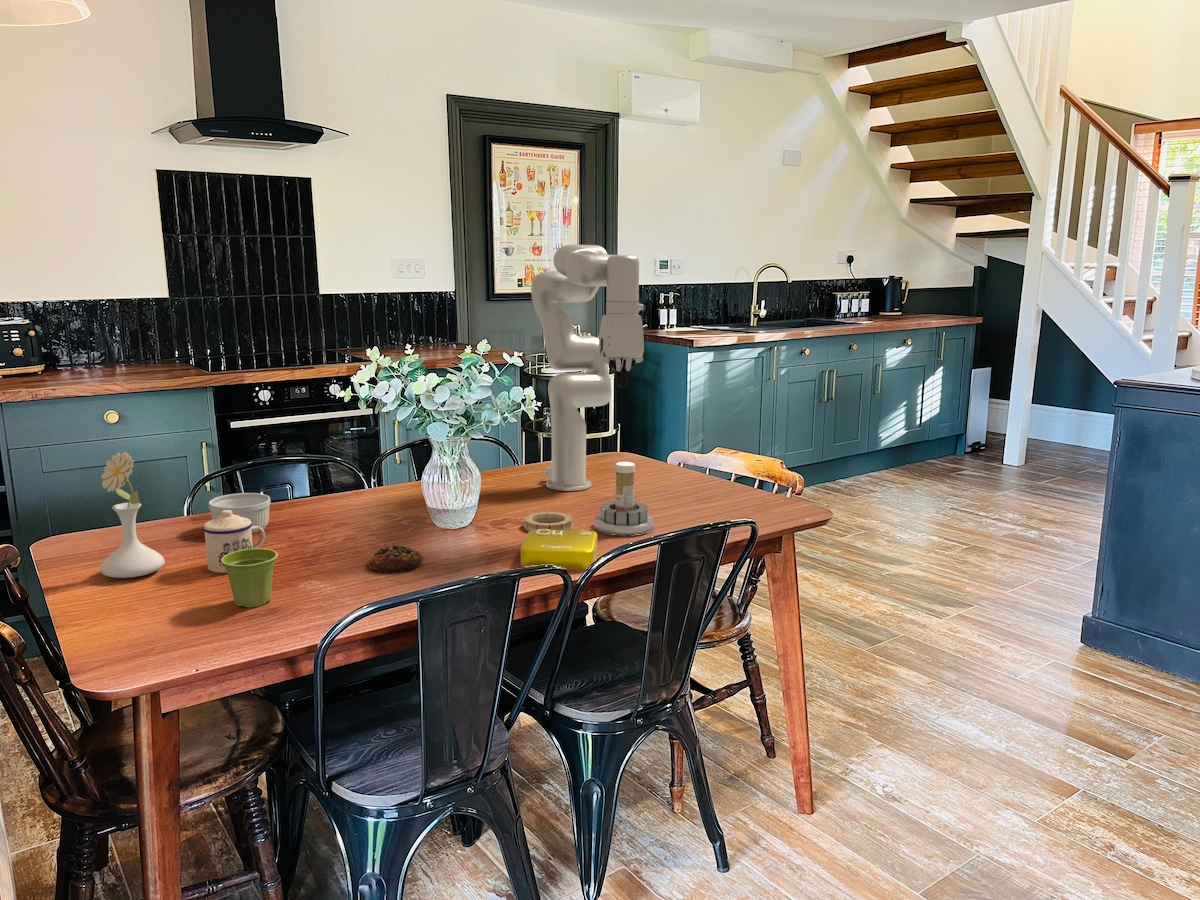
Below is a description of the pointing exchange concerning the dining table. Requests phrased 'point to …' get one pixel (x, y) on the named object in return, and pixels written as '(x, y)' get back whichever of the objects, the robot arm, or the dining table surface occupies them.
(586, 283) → the robot arm
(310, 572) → the dining table surface
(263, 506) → the ramekin
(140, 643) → the dining table surface
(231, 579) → the plant pot
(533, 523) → the beige flat ring
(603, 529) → the hub
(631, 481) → the sprinkles bottle
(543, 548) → the element tile
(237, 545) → the teacup with lid
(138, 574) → the flower in vase
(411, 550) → the bread roll
